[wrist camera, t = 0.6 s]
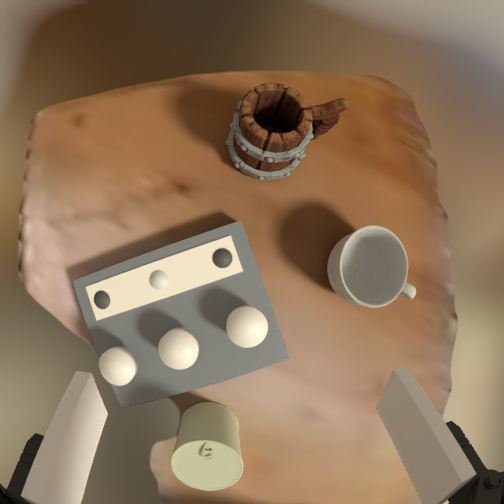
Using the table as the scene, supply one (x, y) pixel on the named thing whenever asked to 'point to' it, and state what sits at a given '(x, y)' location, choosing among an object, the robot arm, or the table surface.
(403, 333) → the table surface
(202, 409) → the can
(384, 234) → the teacup
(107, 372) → the button
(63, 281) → the table surface
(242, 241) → the button board
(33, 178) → the table surface
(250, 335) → the button
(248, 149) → the mug
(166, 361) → the button middle
